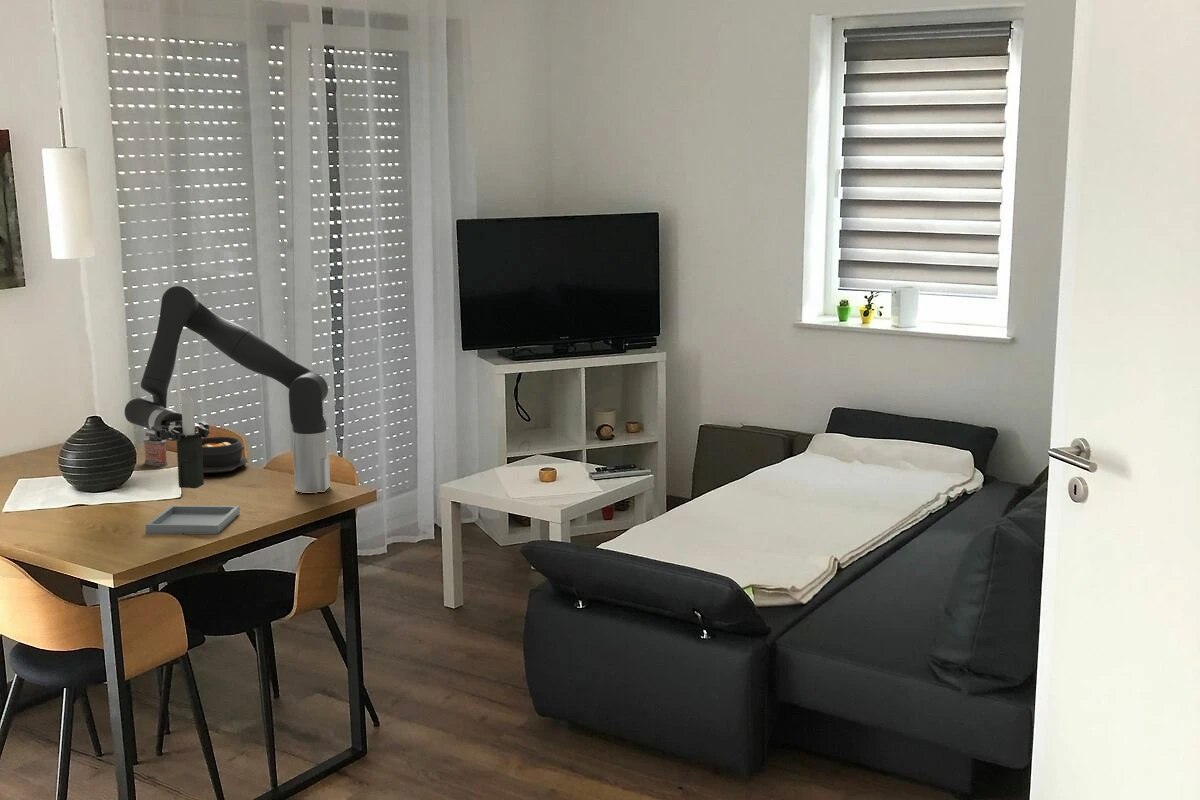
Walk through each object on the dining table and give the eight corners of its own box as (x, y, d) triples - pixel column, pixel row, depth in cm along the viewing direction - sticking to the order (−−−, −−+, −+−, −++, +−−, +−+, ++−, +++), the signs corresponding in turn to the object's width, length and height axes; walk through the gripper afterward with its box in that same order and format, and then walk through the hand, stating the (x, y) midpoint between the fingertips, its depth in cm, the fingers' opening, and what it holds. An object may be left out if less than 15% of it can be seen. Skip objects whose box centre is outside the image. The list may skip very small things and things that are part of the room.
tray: (239, 514, 315) (239, 506, 314) (218, 534, 297) (218, 525, 297) (171, 513, 315) (170, 505, 314) (145, 533, 297) (145, 524, 297)
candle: (205, 483, 307) (201, 387, 302) (196, 488, 302) (192, 391, 297) (186, 482, 307) (181, 386, 302) (177, 487, 302) (172, 390, 297)
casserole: (246, 476, 355) (245, 449, 353) (180, 480, 350) (179, 452, 348) (248, 458, 378) (247, 431, 377) (186, 460, 374) (185, 434, 372)
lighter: (170, 464, 369) (168, 432, 367) (162, 466, 366) (160, 434, 364) (150, 461, 372) (148, 430, 370) (142, 463, 369) (140, 432, 367)
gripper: (139, 412, 307) (163, 424, 295) (194, 406, 316) (219, 417, 304) (140, 441, 309) (164, 453, 296) (195, 434, 318) (221, 446, 305)
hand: (192, 435), depth 300 cm, fingers closed on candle, 6 cm apart
